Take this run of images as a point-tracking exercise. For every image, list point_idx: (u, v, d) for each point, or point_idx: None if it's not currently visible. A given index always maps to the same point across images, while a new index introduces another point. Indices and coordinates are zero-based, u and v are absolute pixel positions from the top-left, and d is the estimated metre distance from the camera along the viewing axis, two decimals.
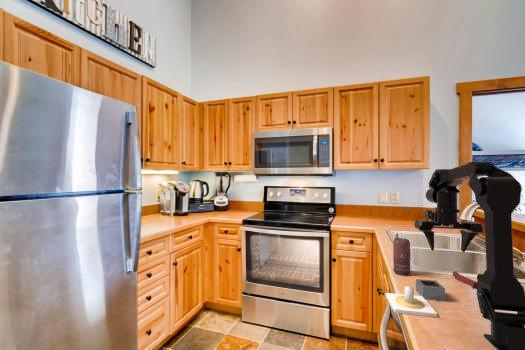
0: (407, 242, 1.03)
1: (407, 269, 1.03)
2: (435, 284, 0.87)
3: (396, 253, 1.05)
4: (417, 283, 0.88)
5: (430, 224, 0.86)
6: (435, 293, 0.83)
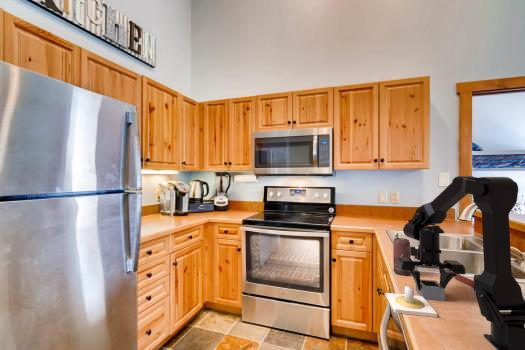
0: (407, 242, 1.03)
1: None
2: (435, 284, 0.87)
3: (396, 253, 1.05)
4: None
5: (412, 264, 0.84)
6: (435, 293, 0.83)
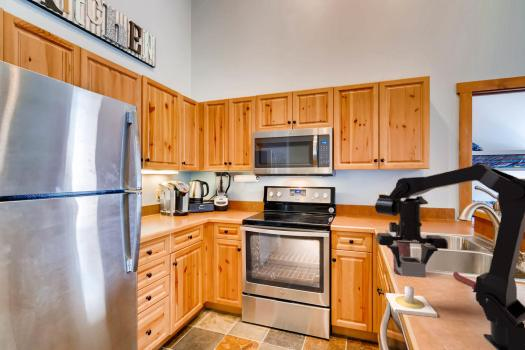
0: None
1: None
2: (416, 261, 0.80)
3: None
4: None
5: (390, 238, 0.78)
6: (415, 269, 0.76)
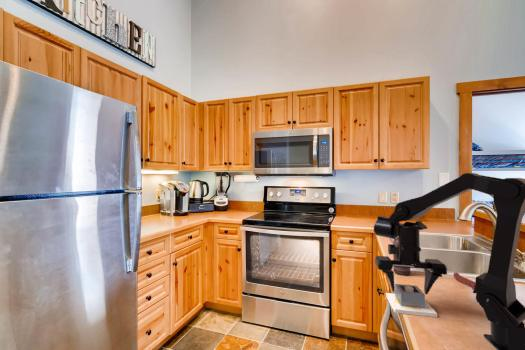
0: None
1: (407, 269, 1.03)
2: (415, 290, 0.80)
3: None
4: (396, 288, 0.81)
5: (389, 263, 0.78)
6: (414, 299, 0.76)
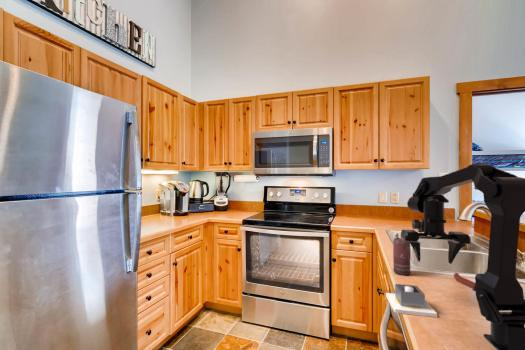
0: (407, 242, 1.03)
1: (407, 269, 1.03)
2: (415, 290, 0.80)
3: (396, 253, 1.05)
4: (396, 288, 0.81)
5: (416, 235, 0.83)
6: (414, 299, 0.76)
